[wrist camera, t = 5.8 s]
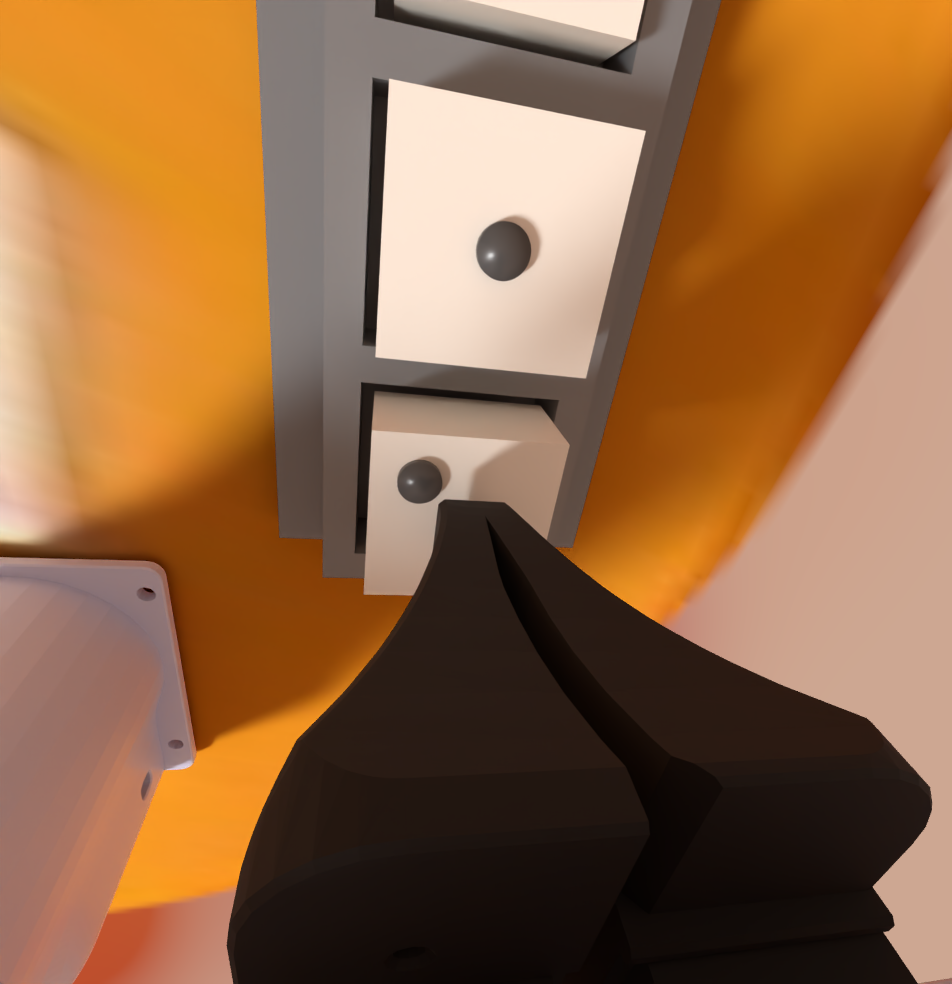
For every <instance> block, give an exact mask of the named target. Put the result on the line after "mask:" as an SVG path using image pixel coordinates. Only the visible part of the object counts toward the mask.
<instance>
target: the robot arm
mask: <svg viewBox="0 0 952 984" xmlns="http://www.w3.org/2000/svg"><path fill="white" fill-rule="evenodd" d="M144 587H145V588H150V589H152V590H153V591H154V592H155V593H151V592H147V591H145V590H144V589H143V588H144ZM195 757H196V747H195V741H194V735H193V729H192V723H191V717H190V712H189V706H188V700H187V694H186V688H185V682H184V676H183V670H182V665H181V659H180V653H179V647H178V641H177V635H176V629H175V623H174V618H173V612H172V606H171V600H170V594H169V588H168V582H167V577H166V573H165V571H164V569H163V568H162V567H161V566H160V565H158V564H156V563H154V562H150V561H134V560H93V559H53V558H12V557H0V984H72V983H73V982H74V981H75V979H76V977H77V976H78V974H79V973H80V971H81V970H82V968H83V966H84V964H85V963H86V961H87V959H88V957H89V955H90V953H91V951H92V949H93V947H94V945H95V942H96V940H97V938H98V935H99V933H100V930H101V927H102V925H103V922H104V920H105V917H106V915H107V912H108V910H109V907H110V905H111V902H112V900H113V897H114V895H115V892H116V890H117V887H118V885H119V882H120V879H121V877H122V874H123V872H124V869H125V867H126V864H127V862H128V859H129V857H130V854H131V852H132V849H133V847H134V844H135V841H136V839H137V836H138V834H139V831H140V829H141V826H142V824H143V821H144V819H145V816H146V814H147V811H148V809H149V806H150V803H151V801H152V798H153V796H154V793H155V791H156V788H157V786H158V783H159V781H160V778H161V776H162V773H163V771H164V770H176V769H185V768H188V767H190V766H191V765H192V764H193V763H194V760H195ZM931 811H932V799H931V791H930V787H929V786H928V784H927V783H926V782H925V781H924V780H923V779H922V778H921V777H920V776H919V775H918V773H917V772H916V771H915V770H914V769H913V768H912V767H911V766H910V764H909V763H908V762H907V761H906V760H905V759H904V758H903V757H902V756H901V755H900V753H899V752H898V751H897V750H896V749H895V748H894V747H893V746H892V744H891V743H890V742H889V741H888V740H887V739H886V738H885V737H884V736H883V735H882V733H881V732H880V731H879V730H878V729H877V728H876V727H875V726H874V725H873V724H872V723H871V722H870V721H869V720H868V719H867V718H865V717H862V716H860V715H857V714H854V713H852V712H849V711H847V710H844V709H842V708H839V707H836V706H834V705H831V704H828V703H826V702H824V701H821V700H818V699H816V698H813V697H811V696H808V695H806V694H803V693H800V692H798V691H795V690H792V689H790V688H788V687H785V686H783V685H780V684H778V683H776V682H773V681H771V680H769V679H767V678H765V677H762V676H760V675H758V674H756V673H753V672H751V671H749V670H747V669H745V668H743V667H740V666H738V665H736V664H733V663H731V662H730V661H728V660H726V659H724V658H722V657H720V656H718V655H715V654H714V653H712V652H709V651H708V650H706V649H704V648H702V647H699V646H698V645H696V644H694V643H692V642H691V641H689V640H687V639H685V638H683V637H682V636H680V635H678V634H676V633H674V632H673V631H671V630H669V629H667V628H665V627H664V626H662V625H660V624H659V623H657V622H655V621H654V620H652V619H650V618H649V617H647V616H646V615H644V614H642V613H641V612H639V611H638V610H636V609H635V608H633V607H632V606H630V605H629V604H627V603H626V602H624V601H623V600H621V599H620V598H618V597H617V596H615V595H614V594H612V593H611V592H610V591H608V590H607V589H605V588H604V587H603V586H601V585H600V584H599V583H597V582H596V581H595V580H594V579H592V578H591V577H590V576H588V575H587V574H586V573H585V572H583V571H582V570H581V569H579V568H578V567H577V566H576V565H575V564H573V563H572V562H571V561H570V560H569V559H567V558H566V557H565V556H564V555H563V554H562V553H560V552H559V551H558V550H557V549H556V548H555V547H554V546H552V545H551V544H550V543H549V542H548V541H547V540H546V539H545V538H544V537H542V536H541V535H540V534H539V533H538V532H537V531H536V530H535V529H534V528H533V527H532V526H531V525H529V524H528V523H527V522H526V521H525V520H524V519H523V518H522V517H521V516H520V515H519V514H518V513H517V512H515V511H514V510H513V509H512V508H511V507H510V506H509V505H507V504H506V503H505V502H489V501H470V500H451V499H444V500H443V501H442V502H440V503H439V504H438V511H437V519H436V527H435V535H434V543H433V552H432V555H431V558H430V560H429V562H428V565H427V567H426V569H425V572H424V574H423V576H422V579H421V581H420V583H419V585H418V587H417V589H416V591H415V593H414V595H413V597H412V599H411V601H410V602H409V604H408V606H407V608H406V609H405V611H404V613H403V614H402V616H401V618H400V619H399V621H398V622H397V624H396V625H395V627H394V628H393V630H392V631H391V633H390V634H389V636H388V637H387V639H386V640H385V642H384V643H383V645H382V646H381V647H380V649H379V650H378V651H377V653H376V654H375V655H374V656H373V658H372V659H371V660H370V661H369V662H368V664H367V665H366V666H365V667H364V669H363V670H362V671H361V672H360V673H359V675H358V676H357V677H356V678H355V680H354V681H353V682H352V683H351V684H350V686H349V687H348V688H347V689H346V690H345V691H344V692H343V693H342V695H341V696H340V697H339V698H338V699H337V700H336V701H335V702H334V703H333V704H332V705H331V706H330V707H329V708H328V709H327V710H326V711H325V712H324V713H323V714H322V715H321V716H320V717H319V718H318V719H317V720H316V721H315V722H314V723H313V724H312V725H311V726H310V727H309V728H308V729H307V730H306V731H305V732H304V733H303V734H302V735H301V736H300V737H299V738H298V739H297V741H296V743H295V744H294V746H293V748H292V750H291V752H290V754H289V756H288V758H287V760H286V762H285V764H284V766H283V768H282V770H281V772H280V773H279V775H278V777H277V779H276V781H275V784H274V786H273V788H272V790H271V792H270V794H269V796H268V798H267V801H266V803H265V805H264V807H263V809H262V812H261V814H260V817H259V819H258V821H257V824H256V826H255V829H254V831H253V834H252V837H251V840H250V842H249V845H248V848H247V851H246V855H245V858H244V861H243V864H242V867H241V871H240V875H239V880H238V885H237V890H236V895H235V899H234V904H233V909H232V913H231V918H230V923H229V931H228V939H227V950H228V955H229V961H230V966H231V973H232V978H233V984H952V978H950V979H944V980H937V981H931V982H924V983H917V982H916V980H915V979H914V977H913V976H912V974H911V973H910V971H909V970H908V968H907V967H906V965H905V964H904V962H903V961H902V960H901V958H900V957H899V955H898V953H897V952H896V951H895V949H894V948H893V946H892V945H891V943H890V942H889V940H888V939H887V937H886V936H885V935H884V933H883V932H886V931H889V930H890V929H891V928H893V927H894V920H893V916H892V914H891V913H890V912H889V910H888V908H887V907H886V906H885V904H884V903H883V901H882V900H881V899H880V897H879V896H878V894H877V893H876V891H875V890H874V889H873V885H874V884H875V883H876V882H877V881H878V880H879V879H880V878H881V877H882V876H883V875H884V874H885V873H886V872H887V871H888V870H889V868H890V867H891V866H892V865H893V864H894V863H895V862H896V861H897V860H898V859H899V858H900V857H901V856H902V854H903V853H905V851H906V850H907V849H908V848H909V847H910V846H911V845H912V844H913V843H914V841H915V840H916V839H917V837H918V836H919V835H920V834H921V832H922V831H923V830H924V828H925V827H926V825H927V822H928V819H929V817H930V813H931Z"/></svg>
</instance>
